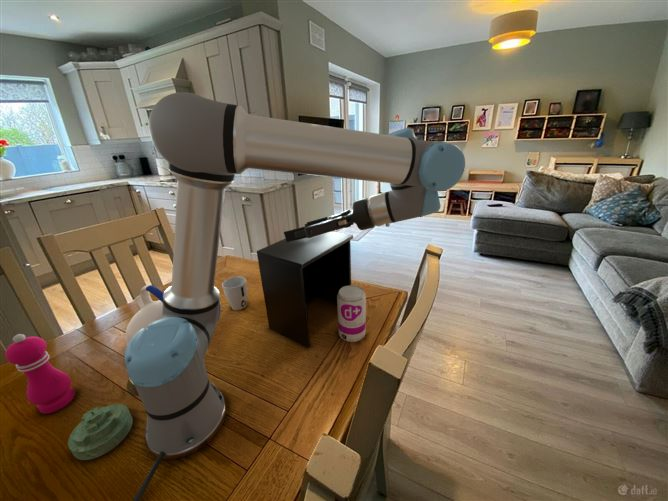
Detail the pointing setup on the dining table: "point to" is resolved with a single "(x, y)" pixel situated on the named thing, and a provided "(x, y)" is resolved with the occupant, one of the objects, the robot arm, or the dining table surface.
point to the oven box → (302, 279)
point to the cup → (236, 292)
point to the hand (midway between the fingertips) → (297, 231)
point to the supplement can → (351, 313)
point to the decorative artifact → (100, 431)
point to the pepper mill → (40, 374)
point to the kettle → (145, 311)
